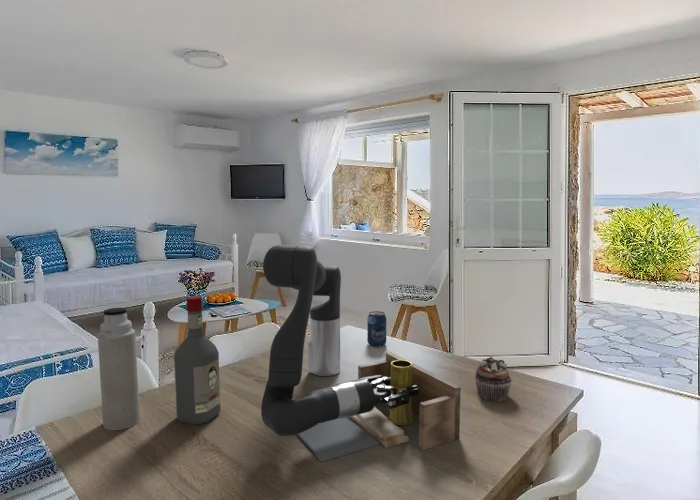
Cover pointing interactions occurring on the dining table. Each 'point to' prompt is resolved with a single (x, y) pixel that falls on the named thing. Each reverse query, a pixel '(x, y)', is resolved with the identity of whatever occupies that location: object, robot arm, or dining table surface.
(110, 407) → the thermos bottle
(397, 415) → the vase
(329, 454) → the mat
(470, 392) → the dining table surface
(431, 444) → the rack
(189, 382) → the liquor
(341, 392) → the robot arm
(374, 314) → the soda can
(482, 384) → the cupcake
